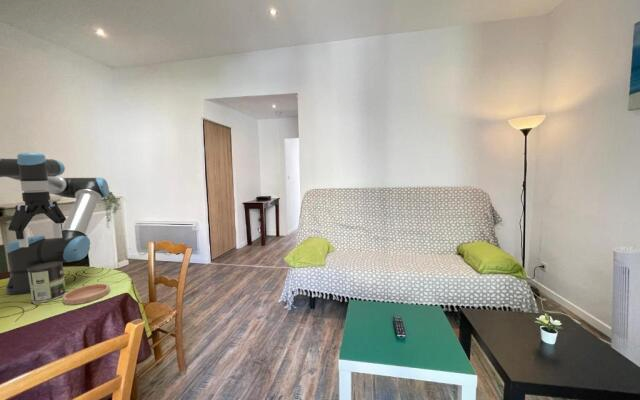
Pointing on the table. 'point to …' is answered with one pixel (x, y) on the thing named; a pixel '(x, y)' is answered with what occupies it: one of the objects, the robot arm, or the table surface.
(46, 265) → the coffee can
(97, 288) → the saucer
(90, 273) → the table surface
